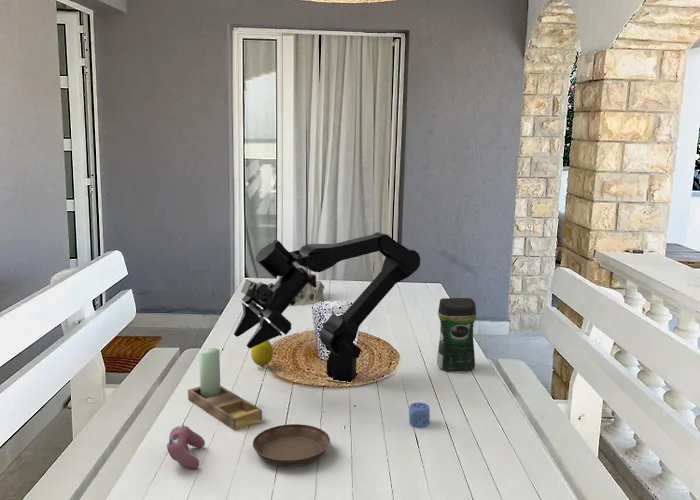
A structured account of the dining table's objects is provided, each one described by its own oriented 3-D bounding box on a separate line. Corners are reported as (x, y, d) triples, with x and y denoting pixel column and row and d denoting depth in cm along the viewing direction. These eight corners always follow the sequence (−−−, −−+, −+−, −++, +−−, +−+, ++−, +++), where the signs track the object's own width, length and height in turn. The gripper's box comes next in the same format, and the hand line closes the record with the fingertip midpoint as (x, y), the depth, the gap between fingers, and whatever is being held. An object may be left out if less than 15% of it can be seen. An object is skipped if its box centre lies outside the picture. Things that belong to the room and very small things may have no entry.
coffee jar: (469, 362, 182) (472, 294, 179) (477, 372, 175) (480, 302, 171) (433, 362, 182) (435, 294, 178) (439, 373, 174) (442, 302, 170)
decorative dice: (409, 419, 147) (409, 401, 146) (427, 419, 147) (428, 402, 146) (410, 427, 143) (410, 409, 142) (429, 428, 143) (429, 410, 142)
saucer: (258, 477, 123) (258, 463, 122) (248, 440, 137) (247, 428, 136) (338, 467, 127) (338, 453, 126) (320, 432, 141) (320, 420, 140)
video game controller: (186, 453, 134) (168, 424, 133) (207, 443, 134) (189, 413, 133) (178, 479, 125) (159, 447, 123) (201, 468, 125) (182, 436, 123)
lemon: (269, 371, 174) (268, 341, 173) (248, 370, 175) (247, 340, 174) (275, 364, 179) (275, 335, 178) (255, 362, 181) (255, 333, 179)
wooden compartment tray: (188, 399, 156) (187, 389, 156) (215, 392, 161) (215, 382, 160) (233, 429, 141) (233, 418, 141) (262, 420, 146) (261, 410, 145)
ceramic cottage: (265, 302, 241) (268, 260, 238) (295, 294, 254) (298, 255, 251) (300, 312, 232) (303, 269, 229) (329, 303, 246) (332, 263, 243)
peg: (224, 399, 157) (223, 349, 154) (214, 406, 153) (212, 355, 150) (207, 396, 158) (205, 346, 156) (197, 404, 154) (195, 352, 152)
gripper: (249, 260, 164) (205, 310, 161) (277, 275, 147) (228, 331, 145) (280, 288, 169) (238, 337, 166) (311, 307, 152) (264, 361, 150)
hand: (241, 341), depth 156 cm, fingers open, 9 cm apart
